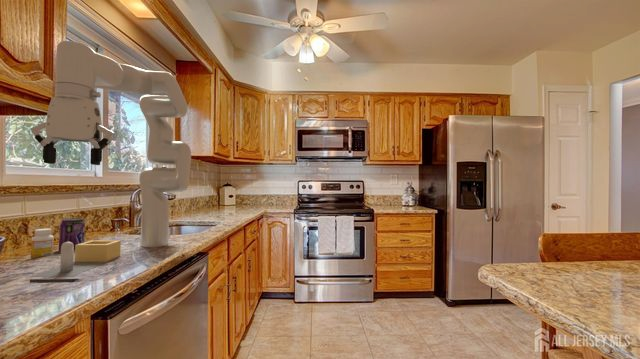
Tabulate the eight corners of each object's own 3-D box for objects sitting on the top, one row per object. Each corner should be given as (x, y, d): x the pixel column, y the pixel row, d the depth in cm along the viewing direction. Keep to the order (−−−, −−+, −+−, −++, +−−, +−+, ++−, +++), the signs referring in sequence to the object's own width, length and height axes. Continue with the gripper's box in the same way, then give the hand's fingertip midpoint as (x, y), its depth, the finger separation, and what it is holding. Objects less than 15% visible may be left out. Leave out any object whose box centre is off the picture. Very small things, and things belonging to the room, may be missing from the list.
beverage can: (72, 254, 102) (73, 220, 102) (52, 254, 102) (54, 219, 103) (89, 250, 109) (90, 218, 110) (70, 249, 109) (71, 217, 110)
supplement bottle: (36, 257, 97) (37, 228, 97) (56, 256, 99) (57, 227, 99) (26, 261, 92) (27, 230, 92) (48, 260, 94) (49, 230, 94)
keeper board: (94, 258, 97) (95, 230, 97) (125, 258, 98) (126, 230, 98) (29, 282, 73) (31, 245, 74) (72, 282, 74) (73, 245, 74)
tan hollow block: (90, 255, 95) (91, 240, 95) (120, 255, 96) (120, 240, 96) (74, 261, 88) (75, 244, 88) (106, 261, 89) (107, 244, 89)
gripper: (121, 102, 78) (119, 166, 77) (44, 96, 74) (42, 164, 73) (107, 93, 70) (105, 164, 70) (21, 86, 67) (18, 161, 66)
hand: (72, 164), depth 72 cm, fingers open, 9 cm apart
